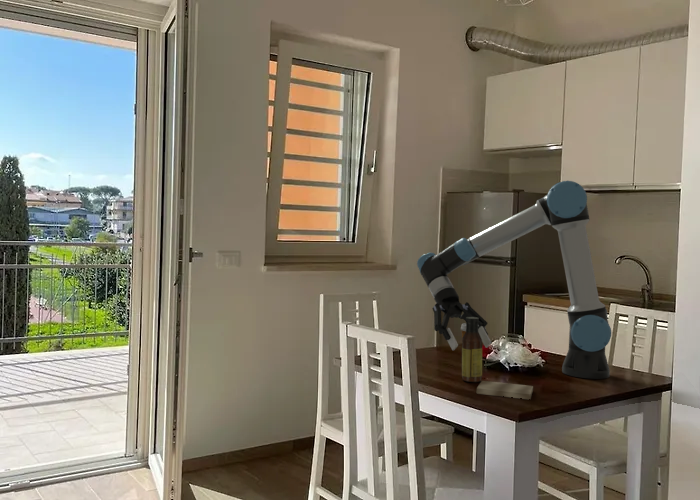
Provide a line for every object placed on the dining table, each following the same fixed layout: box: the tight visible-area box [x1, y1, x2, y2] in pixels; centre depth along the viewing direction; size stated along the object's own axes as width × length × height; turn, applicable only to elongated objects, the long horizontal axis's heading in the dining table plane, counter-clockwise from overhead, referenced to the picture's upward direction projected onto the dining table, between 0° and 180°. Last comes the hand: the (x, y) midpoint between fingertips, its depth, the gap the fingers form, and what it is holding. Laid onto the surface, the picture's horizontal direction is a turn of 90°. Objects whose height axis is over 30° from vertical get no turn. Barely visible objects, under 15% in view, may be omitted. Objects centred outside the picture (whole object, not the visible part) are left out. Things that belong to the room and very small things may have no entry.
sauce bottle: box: [461, 317, 483, 383], centre depth 208 cm, size 7×6×20 cm
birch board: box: [476, 380, 534, 400], centre depth 195 cm, size 15×11×2 cm
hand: (472, 346), depth 208 cm, fingers open, 13 cm apart
